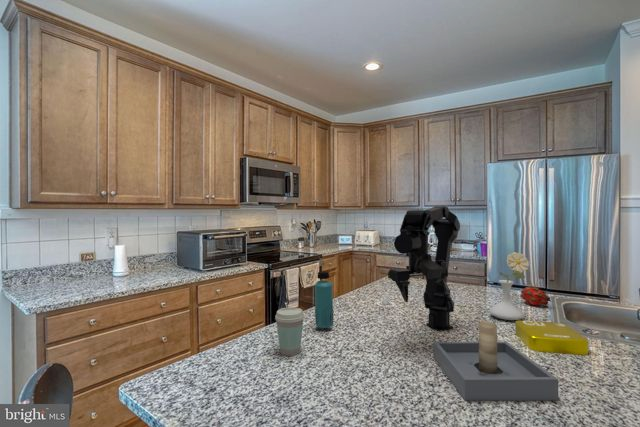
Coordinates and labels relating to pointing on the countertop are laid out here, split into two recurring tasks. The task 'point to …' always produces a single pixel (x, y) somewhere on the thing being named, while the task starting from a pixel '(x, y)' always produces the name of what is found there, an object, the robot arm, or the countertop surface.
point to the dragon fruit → (534, 296)
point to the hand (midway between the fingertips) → (418, 300)
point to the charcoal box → (508, 384)
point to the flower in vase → (506, 306)
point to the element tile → (551, 337)
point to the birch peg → (487, 347)
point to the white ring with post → (385, 301)
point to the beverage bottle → (323, 301)
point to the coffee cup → (289, 330)
